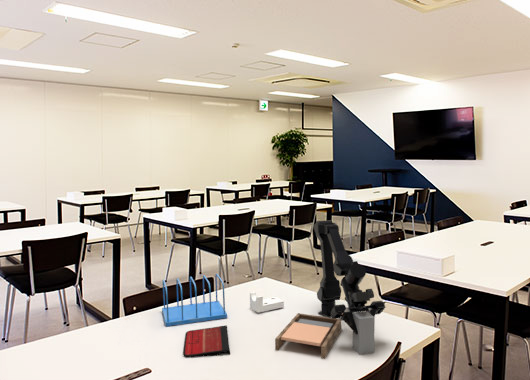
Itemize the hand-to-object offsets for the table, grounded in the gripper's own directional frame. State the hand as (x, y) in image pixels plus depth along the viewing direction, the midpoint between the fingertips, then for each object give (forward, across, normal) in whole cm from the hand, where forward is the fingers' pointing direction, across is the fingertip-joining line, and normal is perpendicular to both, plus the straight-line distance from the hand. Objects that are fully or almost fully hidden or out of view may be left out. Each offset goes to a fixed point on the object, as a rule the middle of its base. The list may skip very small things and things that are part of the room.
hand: (365, 333), depth 147 cm
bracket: (-28, -24, +38) cm, 53 cm away
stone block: (+4, 0, +6) cm, 7 cm away
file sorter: (-29, -55, +39) cm, 74 cm away
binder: (-9, -52, +20) cm, 57 cm away
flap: (-5, -16, +13) cm, 21 cm away
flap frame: (-5, -15, +14) cm, 22 cm away
